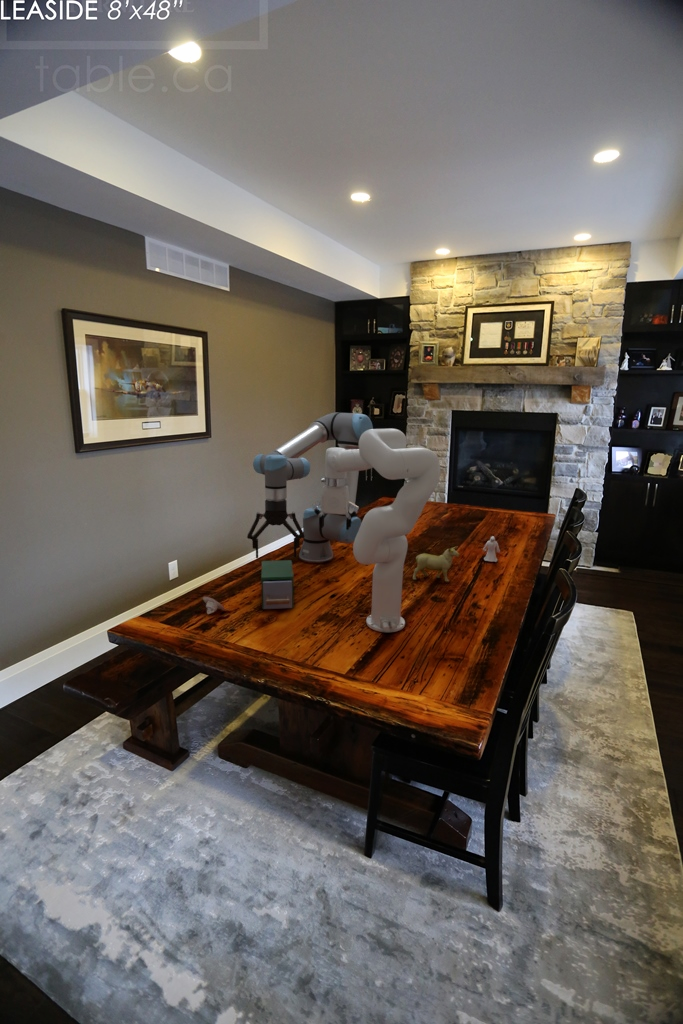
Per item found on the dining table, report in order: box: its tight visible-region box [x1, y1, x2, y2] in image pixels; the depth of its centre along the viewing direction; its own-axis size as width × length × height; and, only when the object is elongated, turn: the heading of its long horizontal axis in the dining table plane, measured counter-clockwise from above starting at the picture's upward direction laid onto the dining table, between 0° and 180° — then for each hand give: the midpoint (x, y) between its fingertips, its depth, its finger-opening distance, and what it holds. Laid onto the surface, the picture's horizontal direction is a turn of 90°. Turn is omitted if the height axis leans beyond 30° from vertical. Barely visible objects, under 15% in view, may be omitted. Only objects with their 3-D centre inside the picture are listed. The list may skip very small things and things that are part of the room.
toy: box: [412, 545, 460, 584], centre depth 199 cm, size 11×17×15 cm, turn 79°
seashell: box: [202, 596, 226, 615], centre depth 167 cm, size 8×5×8 cm
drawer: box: [262, 579, 293, 610], centre depth 173 cm, size 21×10×10 cm, turn 8°
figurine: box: [482, 535, 501, 563], centre depth 223 cm, size 8×8×12 cm
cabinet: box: [260, 559, 295, 610], centre depth 179 cm, size 16×11×12 cm, turn 8°
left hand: (276, 556), depth 181 cm, fingers open, 13 cm apart
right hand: (335, 527), depth 184 cm, fingers open, 9 cm apart
